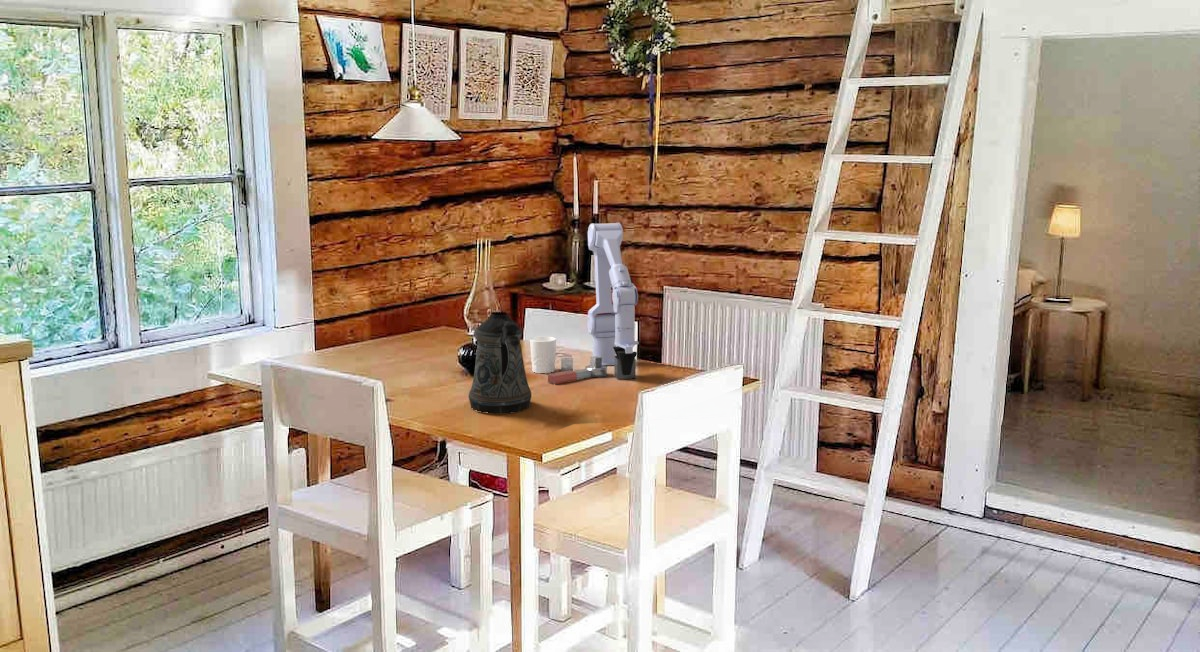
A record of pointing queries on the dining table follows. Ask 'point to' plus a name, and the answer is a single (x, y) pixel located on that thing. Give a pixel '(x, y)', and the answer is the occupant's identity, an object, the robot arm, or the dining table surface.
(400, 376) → the dining table surface
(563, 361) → the socket
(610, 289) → the robot arm
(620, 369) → the brushed steel cube
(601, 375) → the ratchet
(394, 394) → the dining table surface
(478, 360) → the beer stein
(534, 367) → the white cup
